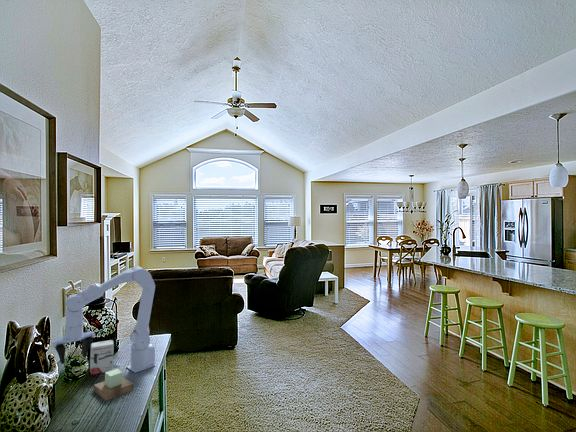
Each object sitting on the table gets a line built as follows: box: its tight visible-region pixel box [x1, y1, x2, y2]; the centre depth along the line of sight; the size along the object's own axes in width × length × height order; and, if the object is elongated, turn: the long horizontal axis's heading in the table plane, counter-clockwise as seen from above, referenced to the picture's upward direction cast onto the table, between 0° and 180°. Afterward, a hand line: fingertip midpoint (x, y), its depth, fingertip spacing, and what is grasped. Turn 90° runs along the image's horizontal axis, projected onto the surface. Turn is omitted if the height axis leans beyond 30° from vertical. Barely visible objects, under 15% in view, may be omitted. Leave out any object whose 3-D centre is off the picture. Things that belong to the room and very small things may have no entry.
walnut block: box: [93, 376, 134, 402], centre depth 128 cm, size 10×10×3 cm
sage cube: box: [104, 368, 124, 388], centre depth 128 cm, size 4×4×4 cm
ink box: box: [89, 339, 115, 376], centre depth 144 cm, size 8×5×12 cm, turn 123°
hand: (73, 359), depth 132 cm, fingers open, 7 cm apart
